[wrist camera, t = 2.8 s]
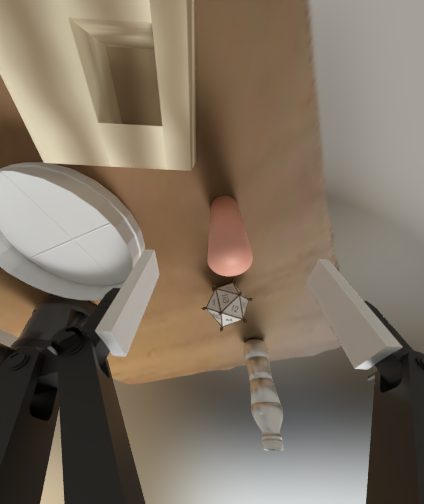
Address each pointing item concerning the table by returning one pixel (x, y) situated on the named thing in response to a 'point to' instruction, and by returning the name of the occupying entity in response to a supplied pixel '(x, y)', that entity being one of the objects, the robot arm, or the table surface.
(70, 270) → the dish
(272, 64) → the table surface
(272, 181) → the table surface
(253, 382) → the plastic bottle
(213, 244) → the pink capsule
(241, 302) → the game die
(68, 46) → the birch block
